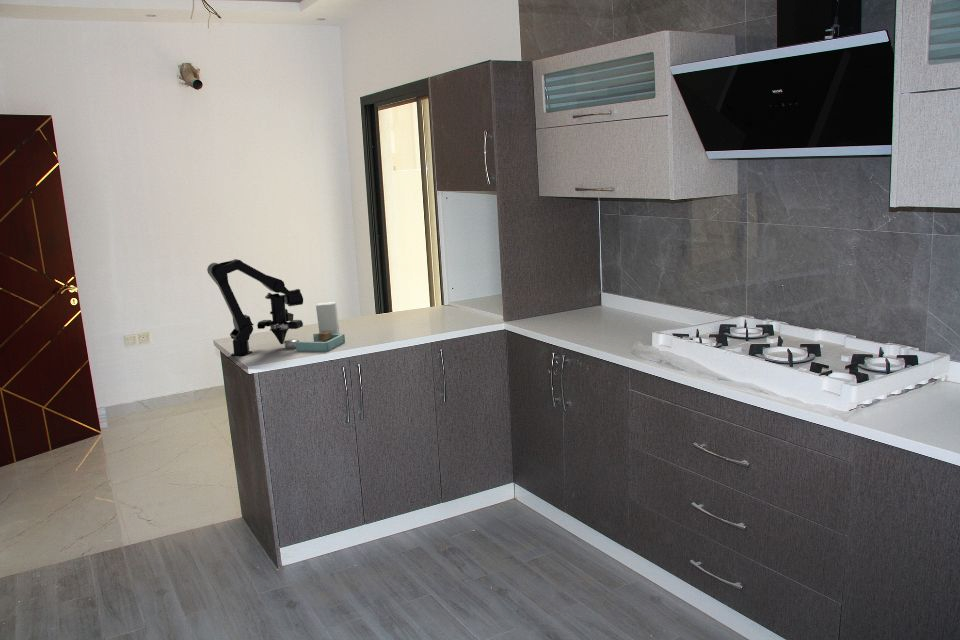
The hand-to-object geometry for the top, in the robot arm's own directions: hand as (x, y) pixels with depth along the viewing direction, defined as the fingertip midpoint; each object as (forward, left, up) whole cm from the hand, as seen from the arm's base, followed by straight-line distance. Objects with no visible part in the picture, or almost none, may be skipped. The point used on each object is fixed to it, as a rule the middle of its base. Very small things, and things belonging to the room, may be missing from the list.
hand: (282, 344), depth 338 cm
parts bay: (+3, -16, -1) cm, 16 cm away
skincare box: (+19, -13, -2) cm, 23 cm away
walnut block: (+7, -17, -1) cm, 18 cm away
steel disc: (0, -5, -2) cm, 5 cm away
